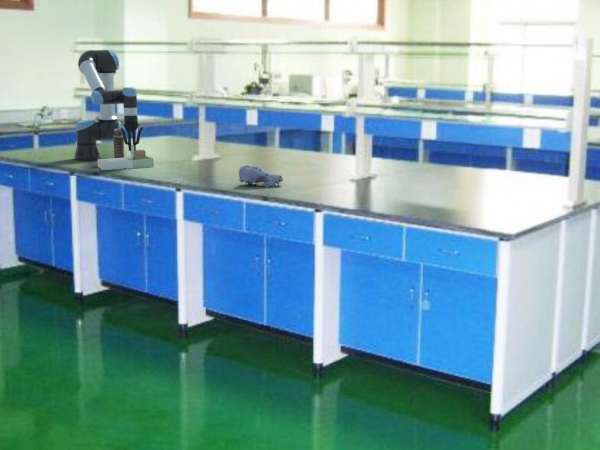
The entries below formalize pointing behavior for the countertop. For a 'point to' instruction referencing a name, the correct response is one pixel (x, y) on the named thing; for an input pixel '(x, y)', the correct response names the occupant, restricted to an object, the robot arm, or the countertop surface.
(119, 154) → the miniature building
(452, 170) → the countertop surface
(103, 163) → the lane box
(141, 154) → the walnut block
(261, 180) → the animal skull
